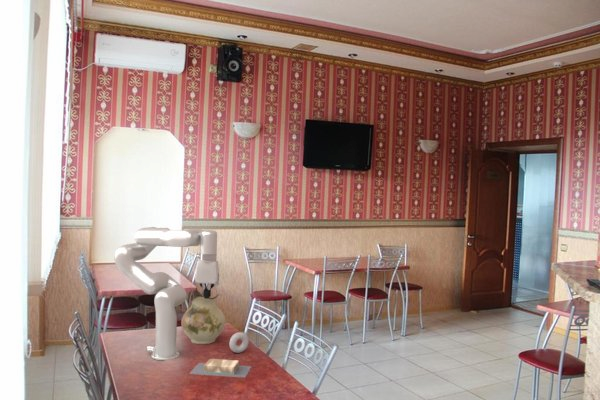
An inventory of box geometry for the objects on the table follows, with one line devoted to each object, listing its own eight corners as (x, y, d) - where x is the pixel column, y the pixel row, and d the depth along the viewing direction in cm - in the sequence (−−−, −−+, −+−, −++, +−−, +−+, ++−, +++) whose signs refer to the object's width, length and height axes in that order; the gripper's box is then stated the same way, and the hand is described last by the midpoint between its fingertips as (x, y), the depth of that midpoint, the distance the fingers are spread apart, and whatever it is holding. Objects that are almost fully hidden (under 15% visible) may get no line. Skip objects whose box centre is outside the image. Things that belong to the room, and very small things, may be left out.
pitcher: (213, 349, 252) (214, 298, 252) (170, 344, 259) (171, 294, 259) (231, 337, 274) (233, 290, 274) (191, 333, 280) (193, 287, 280)
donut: (230, 355, 244) (231, 334, 244) (227, 353, 247) (228, 332, 247) (249, 352, 249) (250, 331, 249) (246, 350, 252) (247, 330, 252)
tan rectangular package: (204, 365, 218) (234, 367, 217) (209, 358, 227) (238, 360, 226) (203, 372, 219) (233, 374, 217) (209, 365, 227) (238, 367, 226)
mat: (188, 374, 217) (189, 373, 217) (198, 363, 231) (198, 362, 231) (245, 378, 214) (245, 377, 214) (251, 367, 228) (251, 366, 228)
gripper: (189, 257, 230) (188, 298, 230) (222, 259, 228) (220, 300, 228) (194, 255, 237) (193, 295, 237) (226, 257, 236) (225, 297, 236)
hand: (206, 298), depth 233 cm, fingers closed
